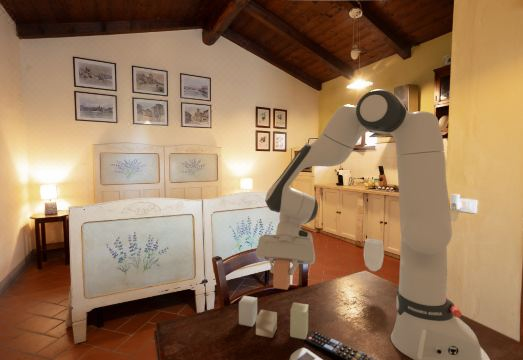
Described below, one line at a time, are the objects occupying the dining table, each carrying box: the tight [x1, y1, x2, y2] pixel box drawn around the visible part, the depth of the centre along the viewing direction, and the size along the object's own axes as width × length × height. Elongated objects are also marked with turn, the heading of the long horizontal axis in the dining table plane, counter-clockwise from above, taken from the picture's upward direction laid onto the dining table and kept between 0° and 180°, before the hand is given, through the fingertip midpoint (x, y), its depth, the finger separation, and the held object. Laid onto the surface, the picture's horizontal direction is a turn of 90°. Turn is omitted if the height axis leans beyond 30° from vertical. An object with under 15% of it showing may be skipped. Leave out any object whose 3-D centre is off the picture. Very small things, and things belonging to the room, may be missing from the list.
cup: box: [363, 238, 385, 272], centre depth 104 cm, size 7×7×21 cm
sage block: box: [289, 302, 309, 340], centre depth 80 cm, size 4×4×8 cm
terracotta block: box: [272, 259, 291, 290], centre depth 89 cm, size 4×4×8 cm
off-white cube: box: [255, 309, 278, 339], centre depth 81 cm, size 5×5×5 cm
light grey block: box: [238, 295, 258, 327], centre depth 86 cm, size 4×4×7 cm
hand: (281, 273), depth 89 cm, fingers closed on terracotta block, 4 cm apart
